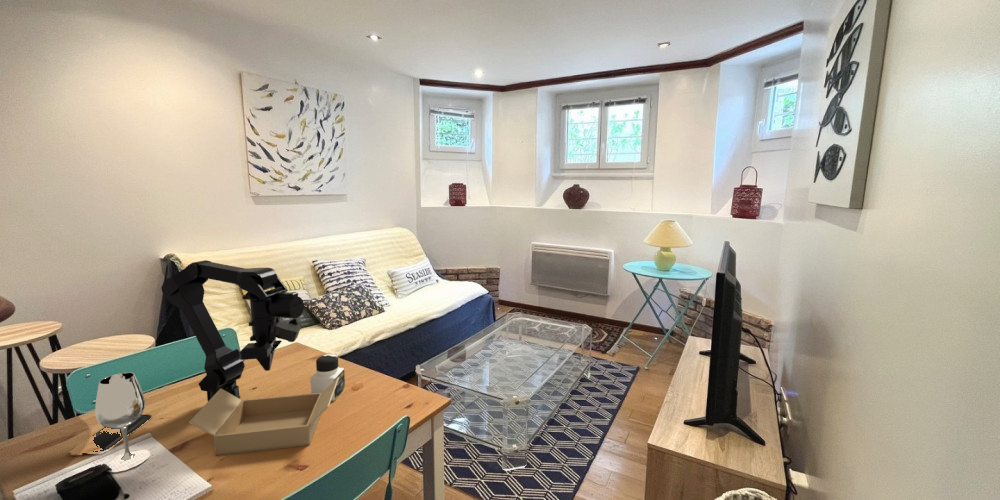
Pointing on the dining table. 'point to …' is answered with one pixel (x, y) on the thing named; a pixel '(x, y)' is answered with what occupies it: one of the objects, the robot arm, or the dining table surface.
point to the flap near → (215, 412)
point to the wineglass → (119, 404)
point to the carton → (268, 424)
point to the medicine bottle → (328, 375)
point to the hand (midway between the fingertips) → (267, 370)
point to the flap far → (324, 400)
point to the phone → (109, 440)
